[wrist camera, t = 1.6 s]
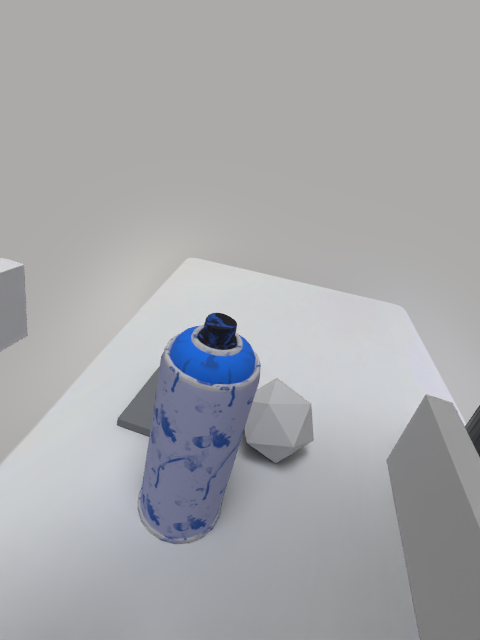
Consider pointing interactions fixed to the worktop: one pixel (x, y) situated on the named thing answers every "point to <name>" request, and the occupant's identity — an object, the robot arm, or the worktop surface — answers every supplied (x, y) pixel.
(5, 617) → the worktop surface
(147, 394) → the mat
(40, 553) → the worktop surface
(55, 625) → the worktop surface
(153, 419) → the aerosol can
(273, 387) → the die
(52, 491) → the worktop surface
